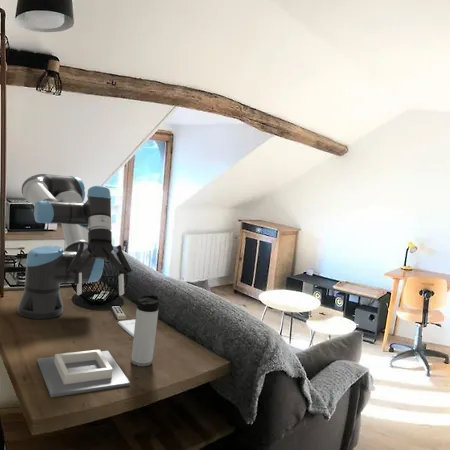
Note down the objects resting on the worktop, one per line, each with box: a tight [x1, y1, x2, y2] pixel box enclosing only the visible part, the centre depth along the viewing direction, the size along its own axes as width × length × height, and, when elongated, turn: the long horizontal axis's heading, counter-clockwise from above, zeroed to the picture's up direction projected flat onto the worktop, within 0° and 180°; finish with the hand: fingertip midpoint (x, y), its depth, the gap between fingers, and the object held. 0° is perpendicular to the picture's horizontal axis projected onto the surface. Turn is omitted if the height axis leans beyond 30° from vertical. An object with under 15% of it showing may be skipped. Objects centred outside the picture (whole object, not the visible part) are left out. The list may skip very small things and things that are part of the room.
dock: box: [36, 349, 131, 398], centre depth 123 cm, size 20×20×3 cm
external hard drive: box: [117, 318, 136, 338], centre depth 158 cm, size 2×8×12 cm
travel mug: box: [130, 294, 160, 367], centre depth 133 cm, size 6×7×20 cm
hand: (101, 294), depth 143 cm, fingers open, 13 cm apart
